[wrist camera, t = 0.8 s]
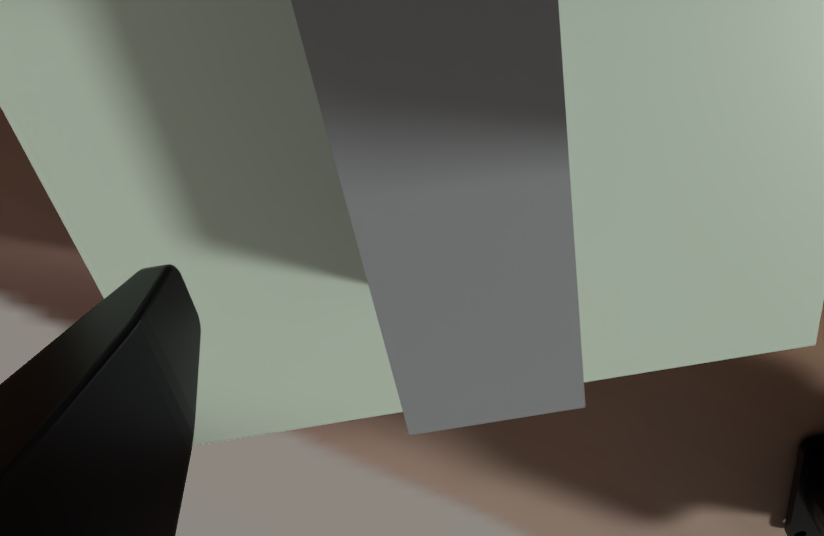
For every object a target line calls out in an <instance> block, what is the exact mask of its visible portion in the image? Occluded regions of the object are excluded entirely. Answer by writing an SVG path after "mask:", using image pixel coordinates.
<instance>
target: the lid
mask: <svg viewBox="0 0 824 536" xmlns="http://www.w3.org/2000/svg"><path fill="white" fill-rule="evenodd" d="M0 107H1V109H2V111H3V112H4V114H5V116H6V118H7V120H8V122H9V124H10V125H11V127H12V129H13V131H14V133H15V135H16V136H17V138H18V140H19V142H20V144H21V146H22V148H23V149H24V151H25V153H26V155H27V157H28V159H29V161H30V162H31V164H32V166H33V168H34V170H35V172H36V174H37V175H38V177H39V179H40V181H41V183H42V185H43V187H44V188H45V190H46V192H47V194H48V196H49V198H50V199H51V201H52V203H53V205H54V207H55V209H56V211H57V212H58V214H59V216H60V218H61V220H62V222H63V224H64V225H65V227H66V229H67V231H68V233H69V235H70V237H71V238H72V240H73V242H74V244H75V246H76V248H77V249H78V251H79V253H80V255H81V257H82V259H83V261H84V262H85V264H86V266H87V268H88V270H89V272H90V274H91V275H92V277H93V279H94V281H95V283H96V285H97V287H98V288H99V290H100V292H101V294H102V296H103V298H104V299H105V298H106V297H107V296H108V295H110V294H111V293H112V292H113V291H115V290H116V289H117V288H118V287H119V286H121V285H122V284H123V283H124V282H126V281H127V280H128V279H129V278H130V277H132V276H133V275H134V274H135V273H136V272H138V271H139V270H140V269H143V268H148V267H154V266H160V265H167V264H171V265H173V266H175V267H176V268H177V269H178V270H179V272H180V273H181V275H182V278H183V280H184V282H185V285H186V287H187V289H188V292H189V294H190V296H191V299H192V301H193V303H194V306H195V308H196V311H197V313H198V316H199V320H200V325H201V340H200V355H199V371H198V386H197V402H196V418H195V429H194V438H193V444H192V446H195V445H201V444H208V443H214V442H220V441H226V440H232V439H238V438H245V437H250V436H257V435H263V434H269V433H275V432H282V431H288V430H294V429H300V428H306V427H312V426H319V425H325V424H331V423H337V422H343V421H349V420H356V419H362V418H368V417H374V416H380V415H386V414H393V413H399V412H403V414H404V418H405V421H406V425H407V429H408V432H409V436H410V435H416V434H422V433H428V432H435V431H441V430H447V429H453V428H460V427H466V426H472V425H478V424H485V423H491V422H497V421H503V420H510V419H516V418H522V417H528V416H535V415H541V414H547V413H553V412H560V411H566V410H572V409H578V408H585V392H584V382H590V381H596V380H602V379H608V378H615V377H621V376H627V375H633V374H639V373H645V372H652V371H658V370H664V369H670V368H676V367H682V366H689V365H695V364H701V363H707V362H713V361H719V360H726V359H732V358H738V357H744V356H750V355H756V354H763V353H769V352H775V351H781V350H787V349H793V348H800V347H806V346H812V345H816V339H817V334H818V328H819V323H820V317H821V311H822V306H823V300H824V0H0Z"/></svg>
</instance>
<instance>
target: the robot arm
mask: <svg viewBox="0 0 824 536" xmlns="http://www.w3.org/2000/svg"><path fill="white" fill-rule="evenodd" d="M200 340H201V325H200V320H199V316H198V313H197V311H196V308H195V306H194V303H193V301H192V299H191V296H190V294H189V292H188V289H187V287H186V285H185V282H184V280H183V278H182V275H181V273H180V272H179V270H178V269H177V268H176V267H175V266H173V265H171V264H167V265H160V266H154V267H148V268H143V269H140V270H139V271H138V272H136V273H135V274H134V275H133V276H132V277H130V278H129V279H128V280H127V281H126V282H124V283H123V284H122V285H121V286H119V287H118V288H117V289H116V290H115V291H113V292H112V293H111V294H110V295H108V296H107V297H106V298H105V299H104V300H102V301H101V302H100V303H99V304H98V305H96V306H95V307H94V308H93V309H91V310H90V311H89V312H88V313H87V314H85V315H84V316H83V317H82V318H81V319H79V320H78V321H77V322H76V323H74V324H73V325H72V326H71V327H70V328H68V329H67V330H66V331H65V332H63V333H62V334H61V335H60V336H59V337H58V338H56V339H55V340H54V341H53V342H51V343H50V344H49V345H48V346H46V347H45V348H44V349H43V350H42V351H40V352H39V353H38V354H37V355H36V356H34V357H33V358H32V359H31V360H29V361H28V362H27V363H26V364H25V365H23V366H22V367H21V368H20V369H19V370H17V371H16V372H15V373H14V374H13V375H11V376H10V377H9V378H8V379H7V380H5V381H4V382H3V383H1V384H0V536H175V534H176V529H177V523H178V518H179V513H180V508H181V503H182V497H183V491H184V486H185V482H186V476H187V471H188V466H189V461H190V455H191V450H192V444H193V438H194V429H195V418H196V402H197V386H198V371H199V355H200ZM785 532H786V534H787V536H824V435H818V436H813V437H809V438H807V439H805V440H804V441H803V442H802V443H801V444H800V446H799V451H798V457H797V462H796V468H795V473H794V479H793V485H792V490H791V496H790V501H789V507H788V512H787V518H786V523H785Z"/></svg>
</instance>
